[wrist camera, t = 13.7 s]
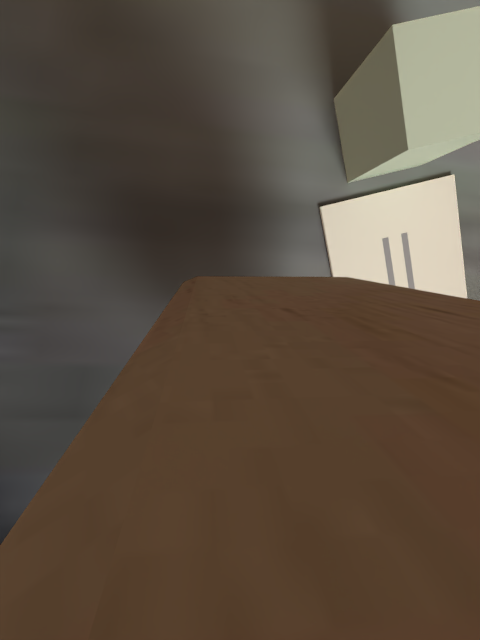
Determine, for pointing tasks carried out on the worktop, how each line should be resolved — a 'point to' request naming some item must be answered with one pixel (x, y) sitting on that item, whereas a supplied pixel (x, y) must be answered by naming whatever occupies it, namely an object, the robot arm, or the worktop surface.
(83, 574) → the wooden block
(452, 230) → the letter
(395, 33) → the sage block
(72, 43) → the worktop surface
